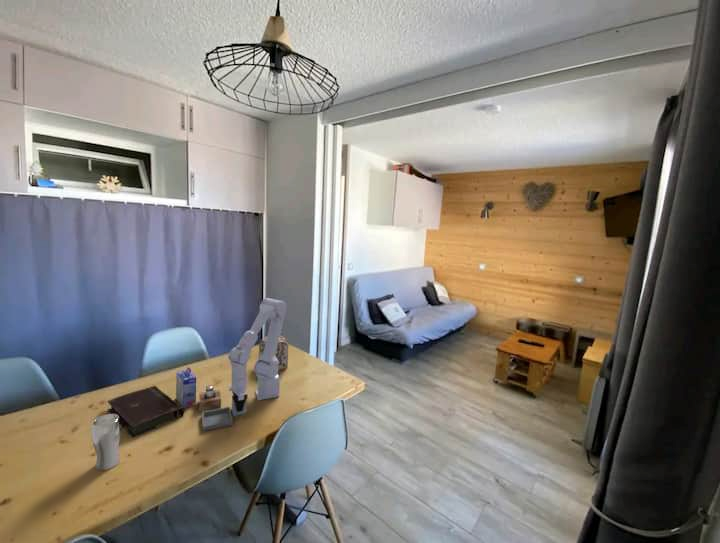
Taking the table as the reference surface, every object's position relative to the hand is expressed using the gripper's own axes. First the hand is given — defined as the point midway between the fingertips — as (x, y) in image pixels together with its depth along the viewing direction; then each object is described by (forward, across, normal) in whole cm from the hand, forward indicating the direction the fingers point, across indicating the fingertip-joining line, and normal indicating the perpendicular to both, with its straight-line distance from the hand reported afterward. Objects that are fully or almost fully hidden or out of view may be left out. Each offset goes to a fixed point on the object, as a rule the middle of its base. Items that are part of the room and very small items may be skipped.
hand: (238, 407), depth 133 cm
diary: (+2, -11, -34) cm, 36 cm away
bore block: (+2, -9, -10) cm, 14 cm away
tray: (+2, +4, -8) cm, 10 cm away
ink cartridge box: (+2, -15, -20) cm, 25 cm away
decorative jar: (+2, -36, +22) cm, 42 cm away
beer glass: (+2, +15, -40) cm, 43 cm away
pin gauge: (+2, -9, -10) cm, 14 cm away
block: (+2, 0, 0) cm, 2 cm away
